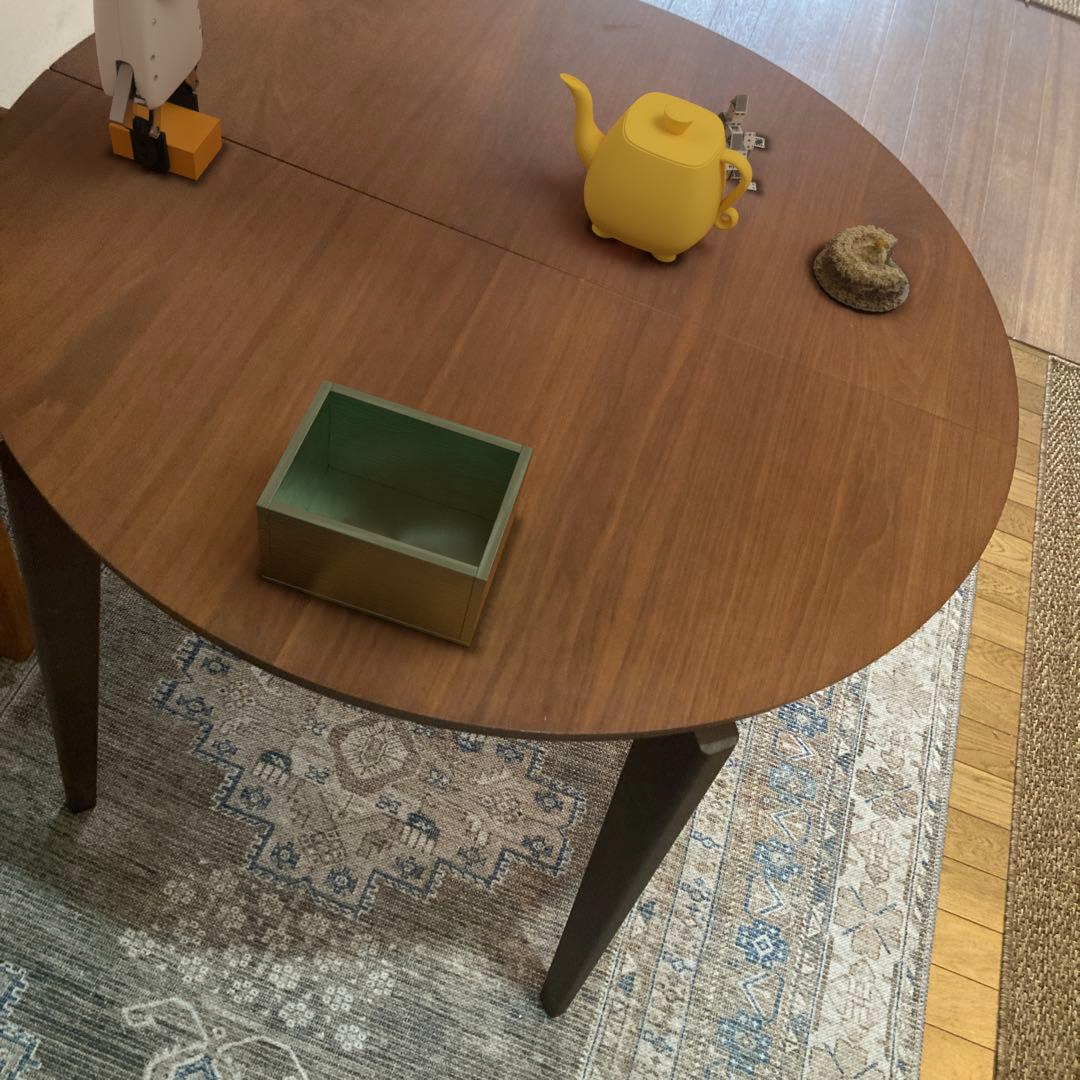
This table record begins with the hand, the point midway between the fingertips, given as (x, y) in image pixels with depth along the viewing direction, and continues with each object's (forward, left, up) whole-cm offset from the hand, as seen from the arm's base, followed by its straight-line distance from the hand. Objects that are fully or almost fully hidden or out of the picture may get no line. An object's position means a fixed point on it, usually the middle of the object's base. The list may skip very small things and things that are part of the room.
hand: (168, 145), depth 96 cm
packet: (0, 0, 0) cm, 0 cm away
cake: (+67, -12, -1) cm, 68 cm away
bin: (+19, -44, 0) cm, 48 cm away
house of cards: (+58, +5, -1) cm, 58 cm away
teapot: (+44, -5, -1) cm, 44 cm away
